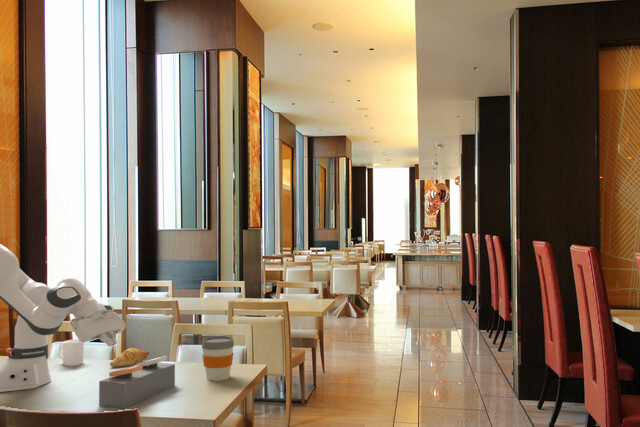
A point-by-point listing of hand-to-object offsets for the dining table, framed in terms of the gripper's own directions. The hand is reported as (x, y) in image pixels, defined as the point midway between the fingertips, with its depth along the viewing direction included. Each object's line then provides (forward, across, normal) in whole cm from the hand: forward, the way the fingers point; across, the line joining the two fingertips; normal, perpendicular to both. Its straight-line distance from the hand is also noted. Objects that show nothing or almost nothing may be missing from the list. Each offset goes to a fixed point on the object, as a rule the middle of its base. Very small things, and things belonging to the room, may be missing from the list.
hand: (113, 344), depth 184 cm
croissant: (-7, +46, +34) cm, 58 cm away
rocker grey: (+10, +13, +2) cm, 17 cm away
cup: (-25, +37, +52) cm, 68 cm away
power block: (+18, +6, +9) cm, 21 cm away
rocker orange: (+10, -1, +2) cm, 10 cm away
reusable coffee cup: (+29, +35, -2) cm, 45 cm away
